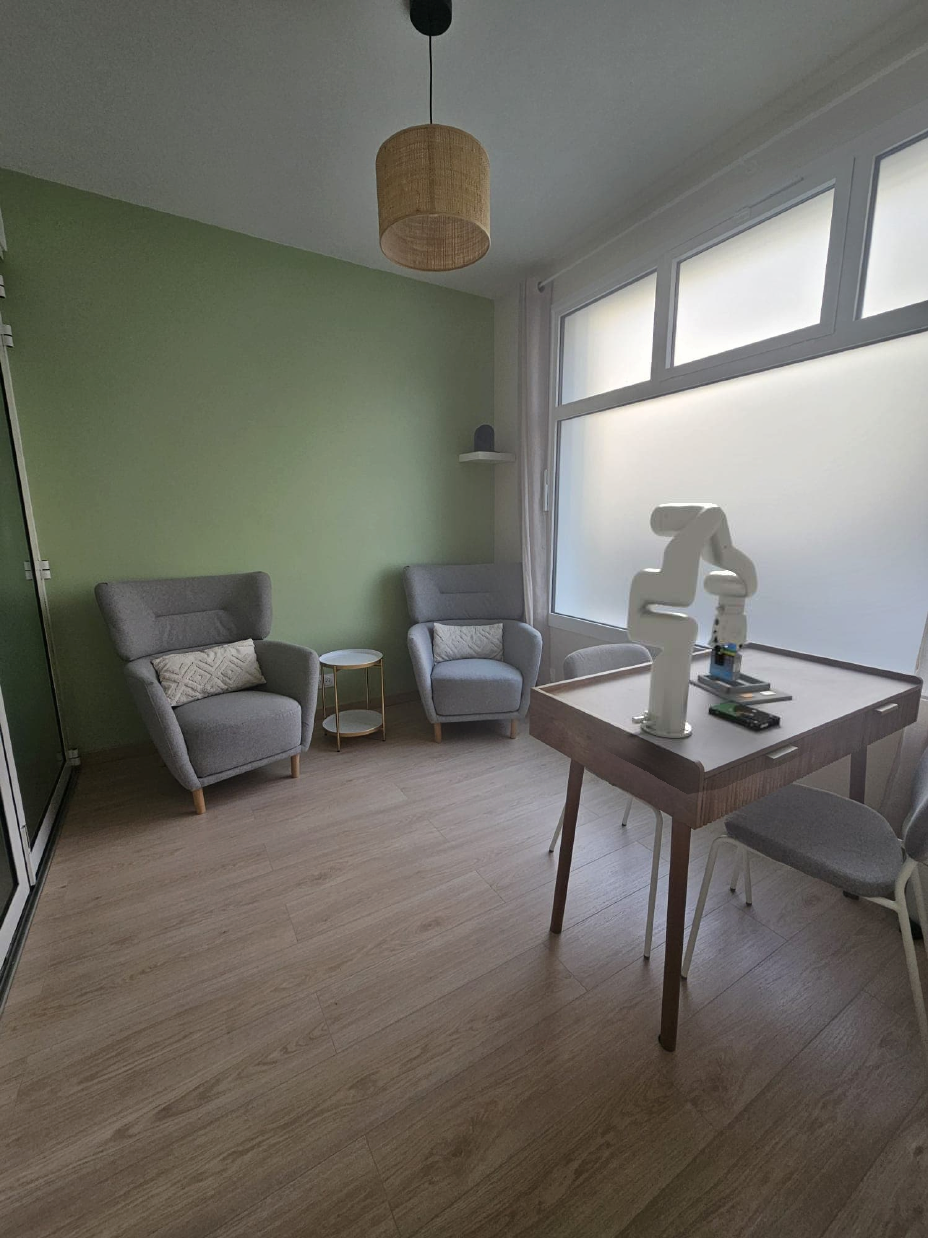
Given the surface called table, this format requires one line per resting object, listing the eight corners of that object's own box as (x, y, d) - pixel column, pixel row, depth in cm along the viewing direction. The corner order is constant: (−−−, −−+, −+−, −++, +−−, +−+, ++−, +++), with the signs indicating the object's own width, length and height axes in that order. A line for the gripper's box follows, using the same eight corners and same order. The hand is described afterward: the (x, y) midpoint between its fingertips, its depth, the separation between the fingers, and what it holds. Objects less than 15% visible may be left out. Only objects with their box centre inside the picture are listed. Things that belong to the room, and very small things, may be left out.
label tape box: (739, 680, 163) (745, 643, 160) (731, 681, 161) (736, 644, 159) (716, 672, 170) (721, 637, 168) (707, 673, 169) (712, 638, 166)
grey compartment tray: (739, 705, 152) (740, 696, 152) (689, 682, 173) (689, 674, 172) (792, 698, 157) (793, 689, 157) (737, 677, 178) (738, 669, 178)
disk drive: (780, 726, 139) (729, 708, 151) (781, 717, 138) (730, 699, 151) (757, 734, 134) (707, 715, 146) (758, 724, 133) (708, 706, 146)
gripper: (717, 612, 155) (711, 669, 159) (761, 609, 160) (755, 665, 164) (700, 608, 163) (695, 663, 166) (743, 605, 167) (737, 659, 171)
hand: (725, 663), depth 165 cm, fingers closed on label tape box, 4 cm apart
